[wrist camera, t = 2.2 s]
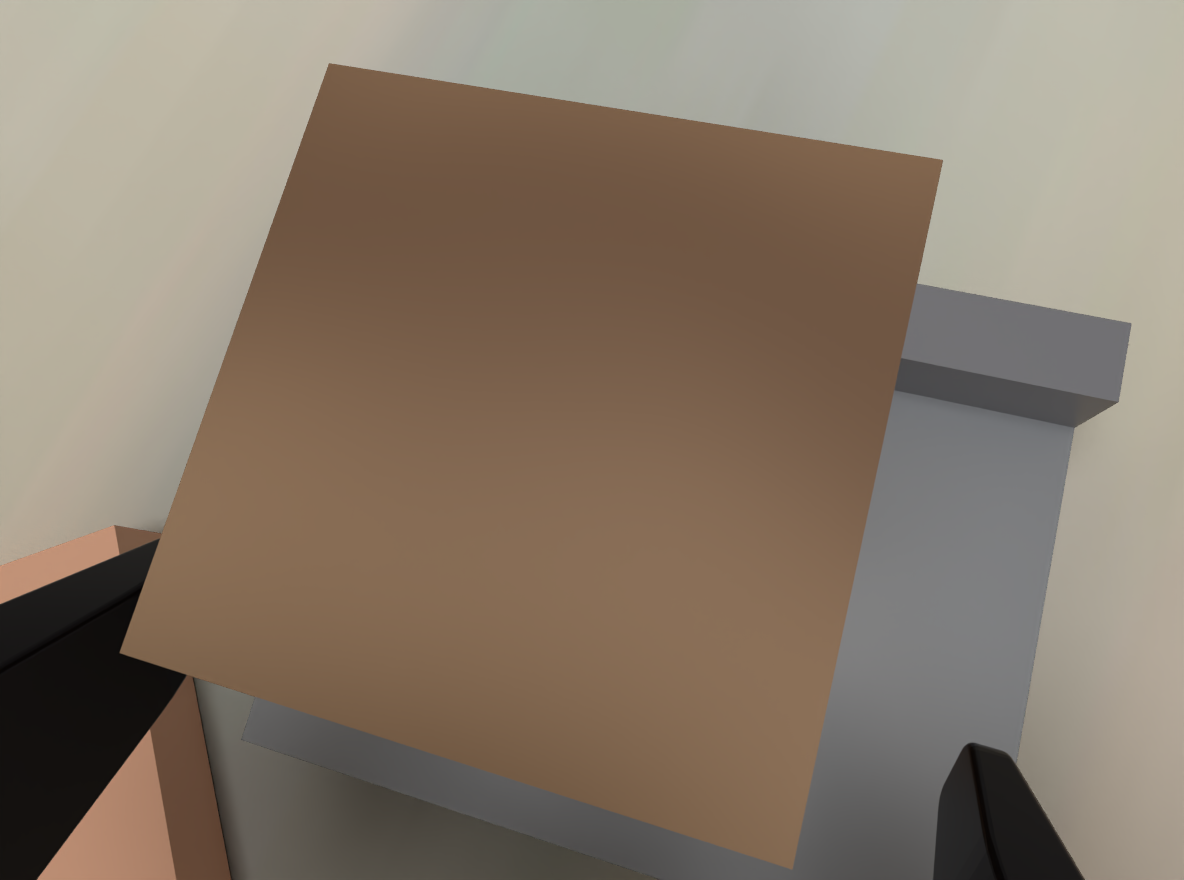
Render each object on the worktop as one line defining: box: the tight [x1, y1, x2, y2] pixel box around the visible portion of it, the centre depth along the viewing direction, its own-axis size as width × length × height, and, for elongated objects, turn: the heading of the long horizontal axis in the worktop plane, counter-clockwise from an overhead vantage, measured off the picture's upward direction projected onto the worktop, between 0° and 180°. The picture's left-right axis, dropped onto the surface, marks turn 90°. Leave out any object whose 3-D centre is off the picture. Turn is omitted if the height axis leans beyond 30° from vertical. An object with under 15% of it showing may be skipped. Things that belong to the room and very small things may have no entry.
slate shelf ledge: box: [241, 284, 1131, 880], centre depth 18 cm, size 12×15×5 cm
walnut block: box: [120, 63, 943, 869], centre depth 12 cm, size 5×5×12 cm
